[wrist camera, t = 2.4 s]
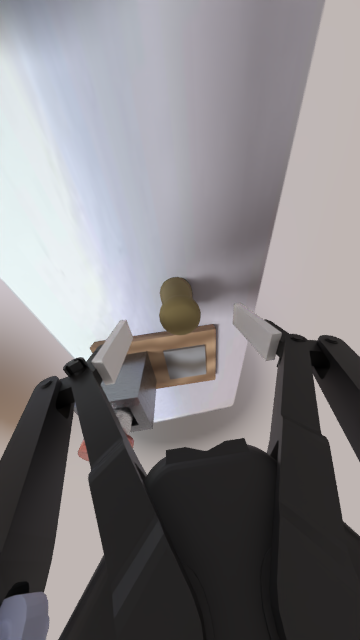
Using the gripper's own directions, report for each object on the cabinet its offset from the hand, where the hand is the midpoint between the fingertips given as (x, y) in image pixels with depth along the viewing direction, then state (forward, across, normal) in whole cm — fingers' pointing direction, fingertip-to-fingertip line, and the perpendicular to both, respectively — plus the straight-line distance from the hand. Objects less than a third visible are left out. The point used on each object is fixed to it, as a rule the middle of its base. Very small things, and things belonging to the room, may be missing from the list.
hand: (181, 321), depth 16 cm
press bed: (+10, -6, -15) cm, 20 cm away
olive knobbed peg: (+10, 0, +1) cm, 10 cm away
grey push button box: (+8, -13, -15) cm, 22 cm away
